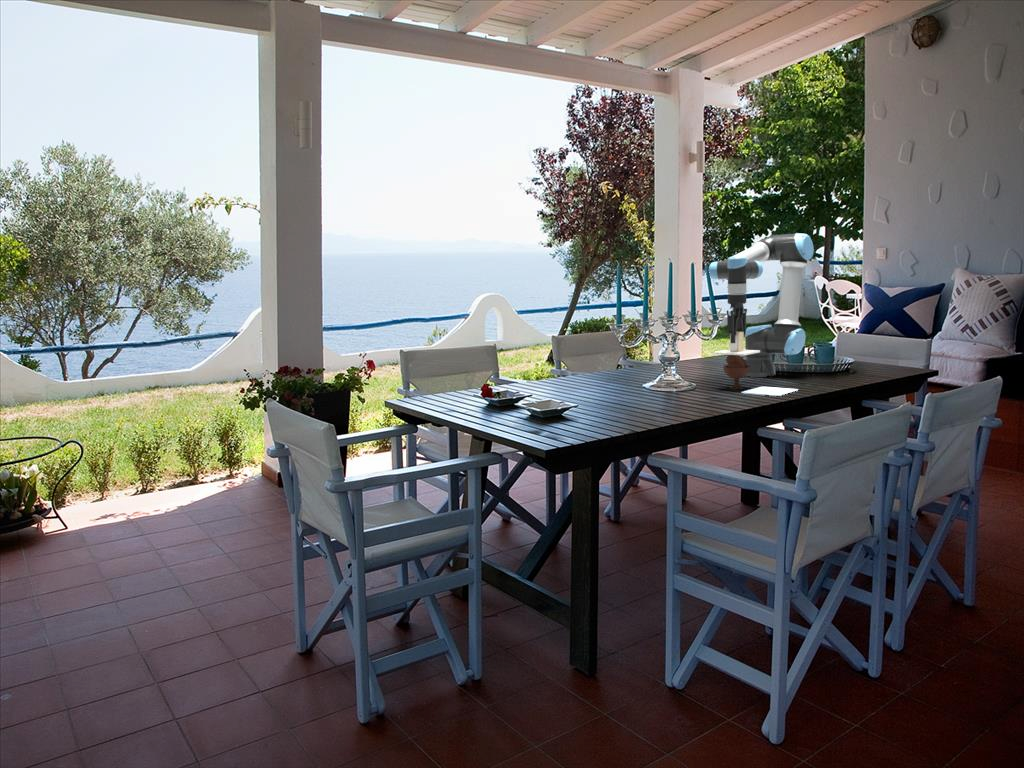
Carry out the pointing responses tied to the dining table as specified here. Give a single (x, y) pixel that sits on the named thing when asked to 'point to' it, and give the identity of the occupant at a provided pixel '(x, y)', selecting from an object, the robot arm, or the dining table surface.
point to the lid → (739, 347)
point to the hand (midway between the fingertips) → (736, 350)
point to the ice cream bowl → (736, 369)
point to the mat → (770, 391)
